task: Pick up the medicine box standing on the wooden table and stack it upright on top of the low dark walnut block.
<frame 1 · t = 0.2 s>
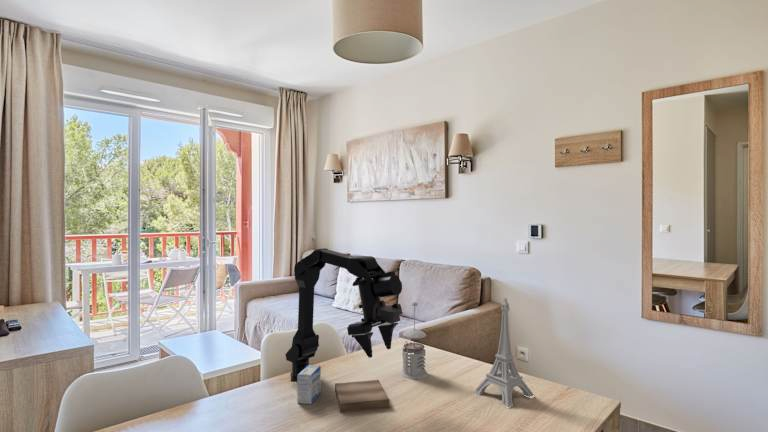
hand: (380, 353, 119), 15 cm above the table, tool pointing down, fingers open, 9 cm apart
walnut block: (360, 399, 123), on the table
eiffel tower: (503, 395, 128), on the table
french press: (412, 375, 143), on the table
medicine box: (309, 399, 124), on the table
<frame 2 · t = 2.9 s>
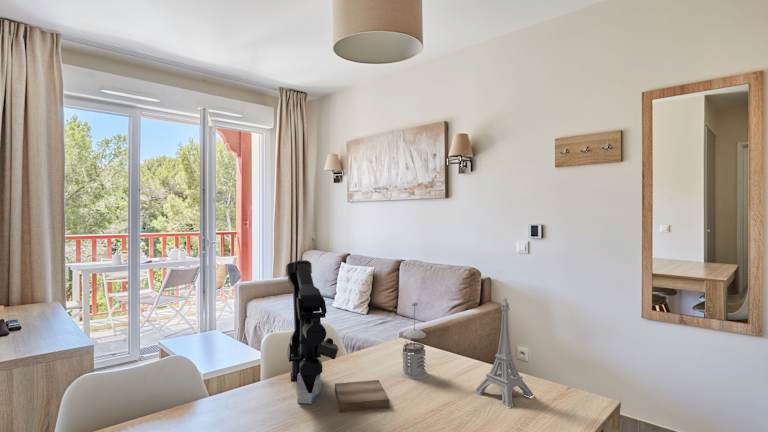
hand: (309, 386, 124), 4 cm above the table, tool pointing down, fingers closed on medicine box, 9 cm apart
medicine box: (309, 398, 124), on the table, touching gripper
everything else where it was.
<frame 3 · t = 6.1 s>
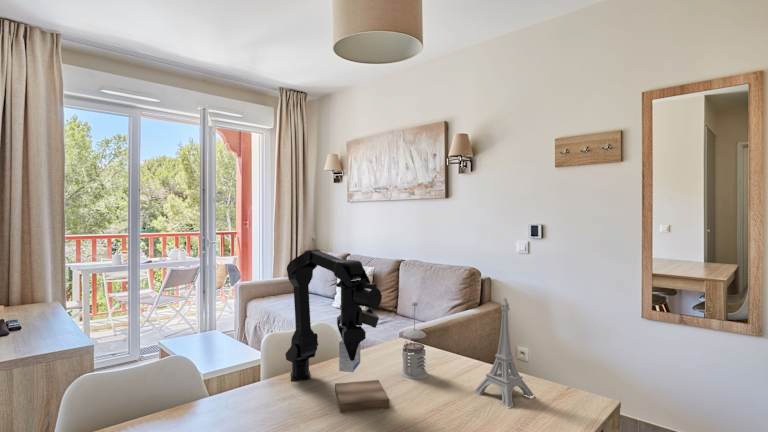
hand: (350, 355, 123), 13 cm above the table, tool pointing down, fingers closed on medicine box, 9 cm apart
medicine box: (349, 367, 123), point 9 cm above the table, touching gripper
everything else where it was.
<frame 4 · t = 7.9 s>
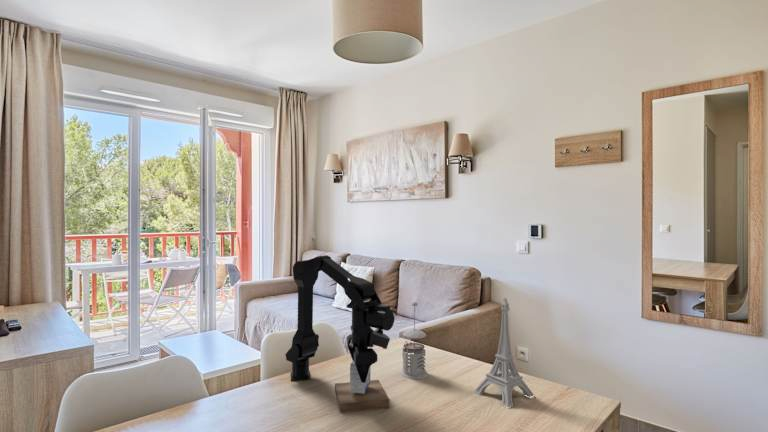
hand: (360, 376, 123), 7 cm above the table, tool pointing down, fingers closed on medicine box, 9 cm apart
medicine box: (360, 388, 123), point 3 cm above the table, touching gripper
everything else where it was.
when the fingers open (7 cm above the table, at t = 9.5 s): medicine box stays where it is, resting on walnut block.
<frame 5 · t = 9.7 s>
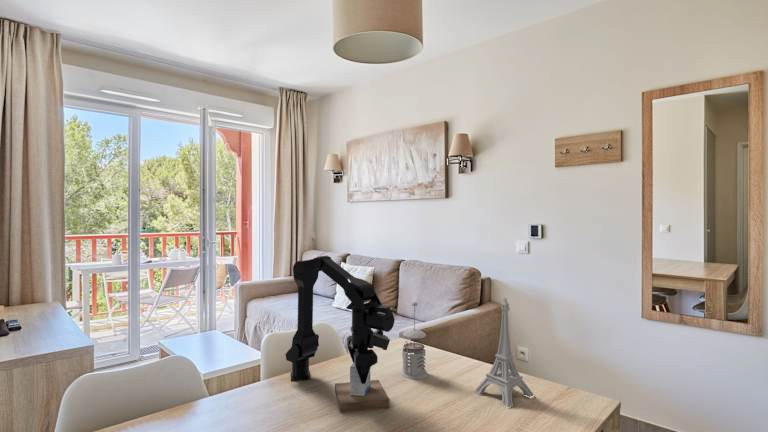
hand: (360, 377, 123), 7 cm above the table, tool pointing down, fingers open, 9 cm apart
medicine box: (360, 391, 123), point 2 cm above the table, touching gripper, walnut block
everything else where it was.
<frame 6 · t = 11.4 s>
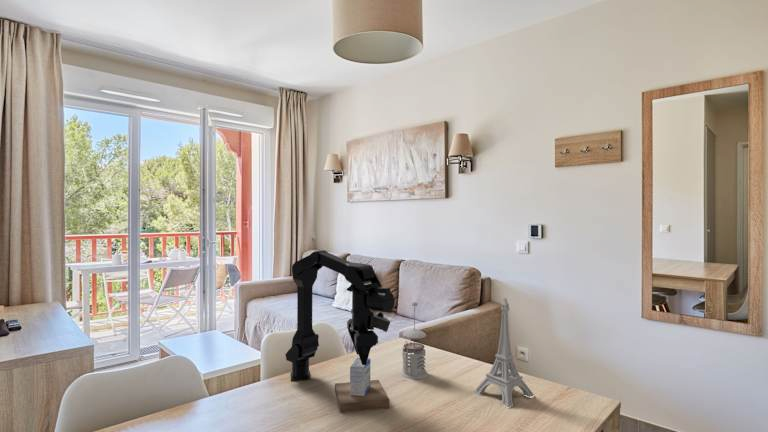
hand: (361, 359, 123), 12 cm above the table, tool pointing down, fingers open, 9 cm apart
medicine box: (360, 391, 123), point 2 cm above the table, touching walnut block
everything else where it was.
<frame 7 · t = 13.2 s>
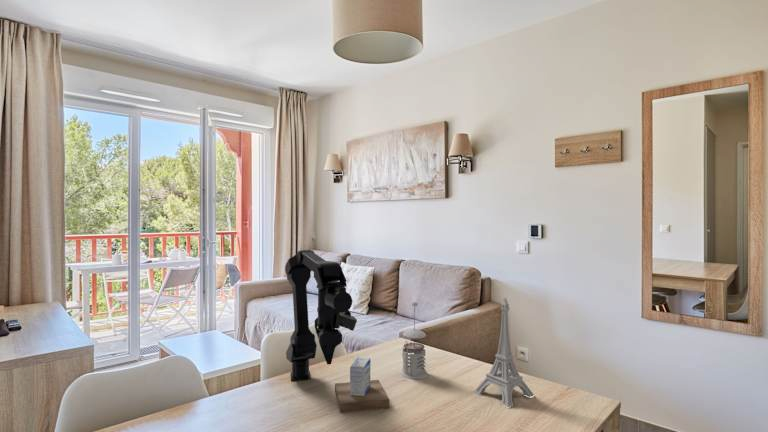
hand: (327, 358, 121), 13 cm above the table, tool pointing down, fingers open, 9 cm apart
nothing on the table moved.
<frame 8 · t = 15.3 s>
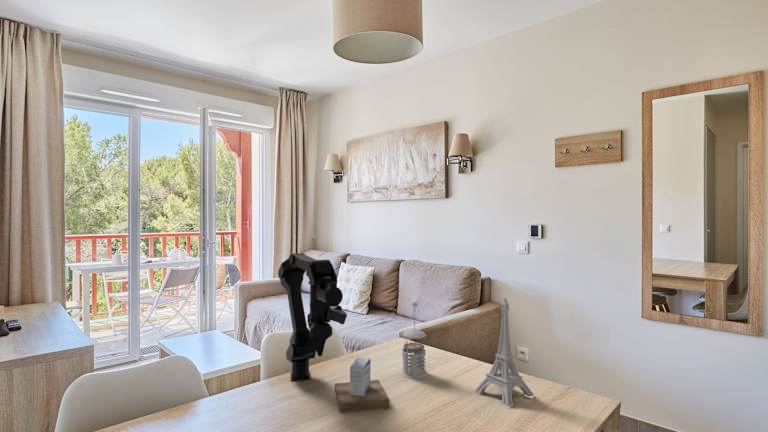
hand: (318, 351, 127), 13 cm above the table, tool pointing down, fingers open, 9 cm apart
nothing on the table moved.
at the end: medicine box inside the target area on the walnut block (0.1 cm from its centre), point 2.3 cm above the walnut block's base; medicine box tilted 0°; the gripper is holding nothing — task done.
